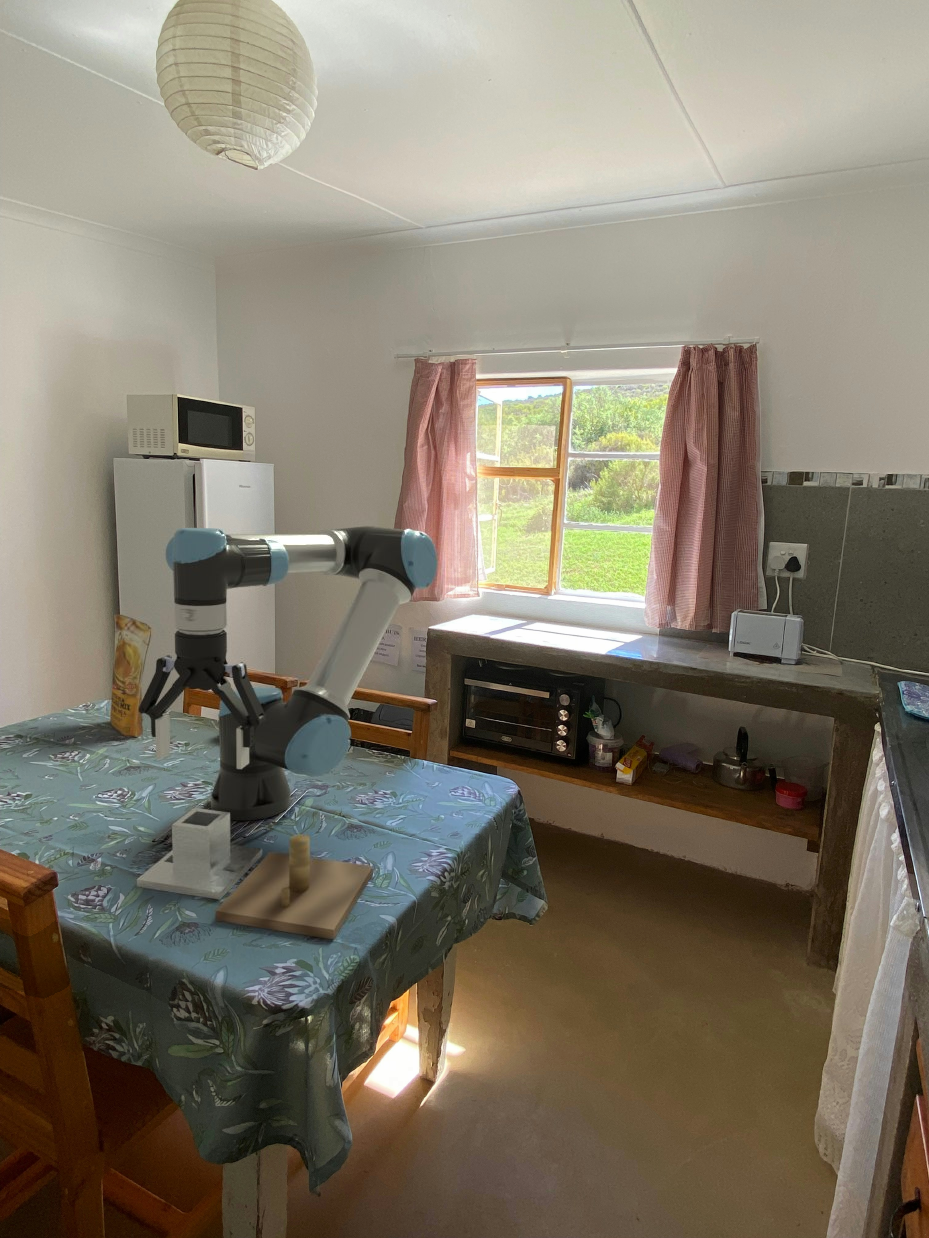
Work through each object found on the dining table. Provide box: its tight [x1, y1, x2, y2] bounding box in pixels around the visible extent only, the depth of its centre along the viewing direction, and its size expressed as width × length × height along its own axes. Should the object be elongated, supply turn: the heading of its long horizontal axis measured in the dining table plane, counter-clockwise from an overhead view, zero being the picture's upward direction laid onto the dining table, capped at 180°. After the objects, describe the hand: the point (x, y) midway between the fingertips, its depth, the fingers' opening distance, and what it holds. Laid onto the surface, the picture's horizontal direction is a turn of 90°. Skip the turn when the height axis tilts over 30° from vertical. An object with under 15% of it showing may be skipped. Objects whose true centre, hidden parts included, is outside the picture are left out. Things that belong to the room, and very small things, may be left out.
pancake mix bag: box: [109, 613, 153, 738], centre depth 180 cm, size 7×19×28 cm, turn 42°
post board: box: [214, 833, 374, 940], centre depth 111 cm, size 18×18×10 cm
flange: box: [136, 807, 263, 900], centre depth 117 cm, size 14×14×9 cm
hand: (202, 761), depth 115 cm, fingers open, 13 cm apart
